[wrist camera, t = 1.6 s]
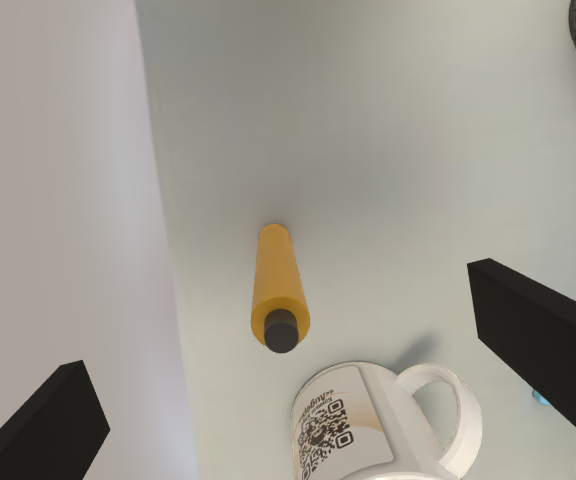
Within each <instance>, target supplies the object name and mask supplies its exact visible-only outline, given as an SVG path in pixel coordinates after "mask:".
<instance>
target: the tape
mask: <svg viewBox="0 0 576 480" xmlns="http://www.w3.org/2000/svg"><path fill="white" fill-rule="evenodd" d="M569 23H570V30H571V34H572V38H573V40H574V43H575V45H576V0H571V4H570V13H569Z"/></svg>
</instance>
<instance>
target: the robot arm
mask: <svg viewBox="0 0 576 480" xmlns="http://www.w3.org/2000/svg"><path fill="white" fill-rule="evenodd" d="M467 268H468V274H469V281H470V287H471V294H472V300H473V307H474V313H475V320H476V326H477V333H478V338H479V339H480V340H481V341H482V342H483V343H484V344H485V345H486V346H487V347H488V348H490V349H491V350H492V351H493V352H494V353H495V354H496V355H497V356H498V357H499V358H501V359H502V360H503V361H504V362H505V363H506V364H507V365H508V366H509V367H510V368H512V369H513V370H514V371H515V372H516V373H517V374H518V375H519V376H520V377H521V378H523V379H524V380H525V381H526V382H527V383H528V384H529V385H530V386H531V387H532V388H533V389H535V390H536V391H537V392H538V393H539V394H540V395H541V396H542V397H543V398H544V399H546V400H547V401H548V402H549V403H550V404H551V405H552V406H553V407H554V408H555V409H557V410H558V411H559V412H560V413H561V414H562V415H563V416H564V417H565V418H566V419H568V420H569V421H570V422H571V423H572V424H573V425H574V426H575V427H576V301H574V300H572V299H570V298H568V297H566V296H564V295H562V294H560V293H558V292H556V291H554V290H552V289H550V288H548V287H546V286H544V285H542V284H540V283H538V282H536V281H534V280H532V279H530V278H528V277H526V276H524V275H522V274H520V273H518V272H516V271H514V270H512V269H510V268H508V267H506V266H504V265H502V264H500V263H498V262H496V261H494V260H492V259H490V258H488V259H484V260H480V261H476V262H472V263H468V264H467ZM109 431H110V427H109V425H108V422H107V420H106V417H105V415H104V412H103V410H102V407H101V405H100V402H99V400H98V398H97V395H96V392H95V390H94V387H93V385H92V382H91V380H90V377H89V375H88V372H87V370H86V367H85V365H84V362H83V360H80V361H76V362H72V363H68V364H64V365H60V366H59V367H58V368H57V370H56V371H55V372H54V373H53V374H52V375H51V376H50V377H49V378H48V379H47V380H46V381H45V382H44V383H43V384H42V385H41V386H40V387H39V388H38V390H37V391H35V393H34V394H33V395H32V396H31V397H30V398H29V399H28V400H27V401H26V402H25V403H24V404H23V405H22V406H21V407H20V409H18V410H17V411H16V413H14V415H13V416H12V417H11V418H10V419H9V420H8V421H7V422H6V423H5V424H4V425H3V426H2V427H1V428H0V480H82V479H83V478H84V476H85V474H86V472H87V470H88V469H89V467H90V465H91V463H92V462H93V460H94V458H95V456H96V455H97V453H98V451H99V449H100V447H101V446H102V444H103V442H104V440H105V438H106V437H107V435H108V433H109Z"/></svg>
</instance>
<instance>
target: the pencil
mask: <svg viewBox="0 0 576 480" xmlns="http://www.w3.org/2000/svg"><path fill="white" fill-rule="evenodd" d="M309 326H310V316H309V312H308V308H307V304H306V299H305V295H304V291H303V287H302V283H301V279H300V275H299V271H298V267H297V263H296V258H295V254H294V250H293V246H292V242H291V238H290V234H289V232H288V230H287V229H286V228H285V227H284V226H282V225H279V224H270V225H267V226H265V227H264V228H263V229H262V230H261V232H260V234H259V239H258V249H257V260H256V270H255V281H254V292H253V302H252V313H251V328H252V332H253V334H254V336H255V337H256V338H257V340H258V341H259V342H261V343H262V344H263V345H265V346H267V347H268V348H269V349H270V350H272V351H273V352H276V353H287V352H289V351H291V350H292V349H294V348H295V347H296V345H297V344H298V343H300V342H301V341H302V340H303V339H304V337H305V336H306V334H307V333H308V330H309Z"/></svg>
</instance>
